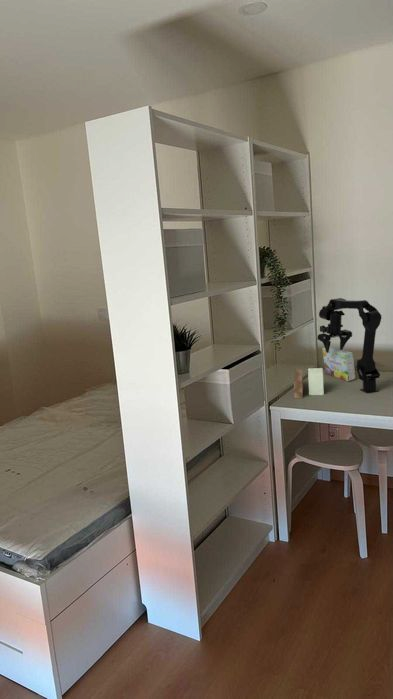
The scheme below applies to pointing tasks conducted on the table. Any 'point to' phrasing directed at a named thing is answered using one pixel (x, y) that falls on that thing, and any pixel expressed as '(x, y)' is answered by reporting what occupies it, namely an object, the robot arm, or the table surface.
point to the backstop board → (298, 384)
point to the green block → (315, 381)
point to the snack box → (339, 363)
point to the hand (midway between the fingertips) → (334, 351)
